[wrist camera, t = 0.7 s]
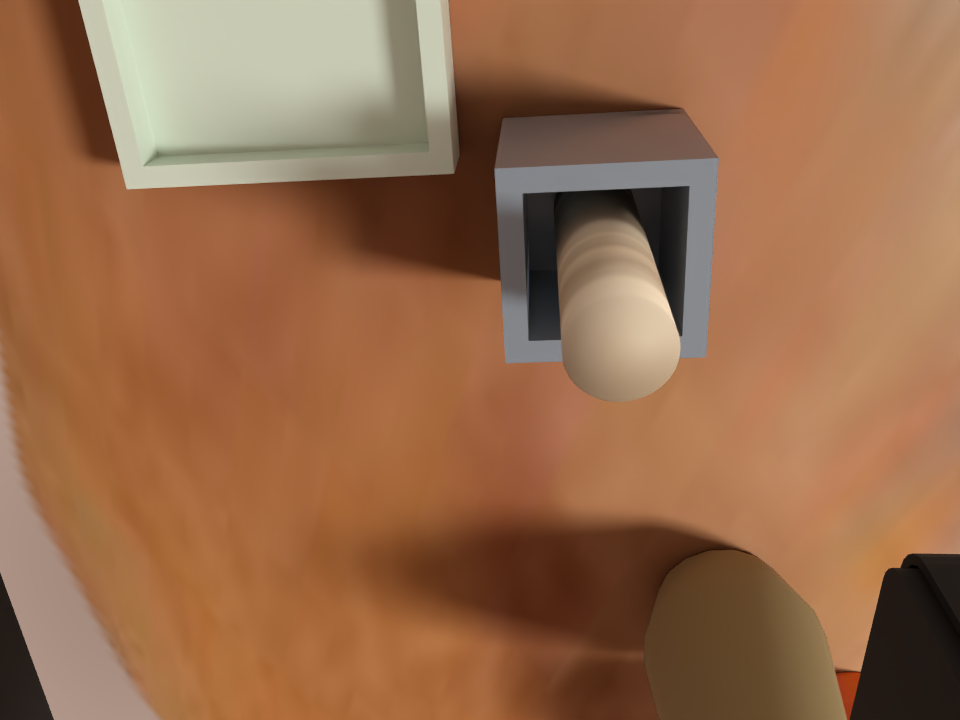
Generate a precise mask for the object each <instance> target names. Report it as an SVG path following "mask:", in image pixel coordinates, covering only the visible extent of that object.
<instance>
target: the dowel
mask: <svg viewBox="0 0 960 720" xmlns="http://www.w3.org/2000/svg"><path fill="white" fill-rule="evenodd" d="M554 219H555V237H556V255H557V273H558V291H559V310H560V328H561V346H562V359H563V364H564V367H565V369H566V372H567V374H568V375H569V377H570V379H571V380H572V381H573V382H574V384H575V385H576V386H578V387H579V388H580V389H581V390H582V391H584V392H585V393H587V394H589V395H591V396H593V397H595V398H598V399H601V400H605V401H612V402H625V401H632V400H636V399H639V398H642V397H645V396H647V395H649V394H651V393H653V392H654V391H656V390H657V389H659V388H660V387H661V386H662V385H663V384H664V383H665V382H666V381H667V380H668V379H669V378H670V377H671V375H672V374H673V372H674V370H675V368H676V366H677V364H678V361H679V357H680V350H681V348H680V338H679V334H678V331H677V328H676V325H675V322H674V319H673V316H672V312H671V309H670V306H669V303H668V300H667V297H666V294H665V291H664V288H663V285H662V282H661V279H660V276H659V273H658V270H657V267H656V264H655V261H654V258H653V255H652V252H651V249H650V246H649V243H648V240H647V237H646V234H645V231H644V228H643V224H642V221H641V218H640V215H639V212H638V209H637V206H636V203H635V200H634V197H633V194H632V191H631V189H610V190H588V191H565V192H557V194H556V197H555V201H554Z"/></svg>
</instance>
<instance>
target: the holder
mask: <svg viewBox="0 0 960 720" xmlns="http://www.w3.org/2000/svg"><path fill="white" fill-rule="evenodd" d="M718 160H719V158H718V156H717V155H716V154H715V152H714V151H713V149H712V148H711V147H710V145H709V144H708V142H707V141H706V140H705V138H704V137H703V135H702V134H701V133H700V131H699V130H698V128H697V127H696V126H695V124H694V123H693V121H692V120H691V119H690V117H689V116H688V115H687V113H686V112H685V110H684V109H665V110H646V111H627V112H608V113H589V114H570V115H550V116H531V117H512V118H503V120H502V126H501V132H500V138H499V144H498V150H497V156H496V163H495V186H496V204H497V222H498V239H499V257H500V274H501V292H502V310H503V327H504V345H505V362H506V363H527V362H562V361H563V359H562V346H561V328H560V310H559V291H558V273H557V255H556V237H555V219H554V201H555V197H556V194H557V192H565V191H588V190H610V189H631V191H632V194H633V197H634V200H635V203H636V206H637V209H638V212H639V215H640V218H641V221H642V224H643V228H644V231H645V234H646V237H647V240H648V243H649V246H650V249H651V252H652V255H653V258H654V261H655V264H656V267H657V270H658V273H659V276H660V279H661V282H662V285H663V288H664V291H665V294H666V297H667V300H668V303H669V306H670V309H671V312H672V316H673V319H674V322H675V325H676V328H677V331H678V334H679V338H680V348H681V350H680V357H679V358H699V357H706V350H707V334H708V318H709V302H710V286H711V271H712V255H713V239H714V223H715V208H716V192H717V176H718Z"/></svg>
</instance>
